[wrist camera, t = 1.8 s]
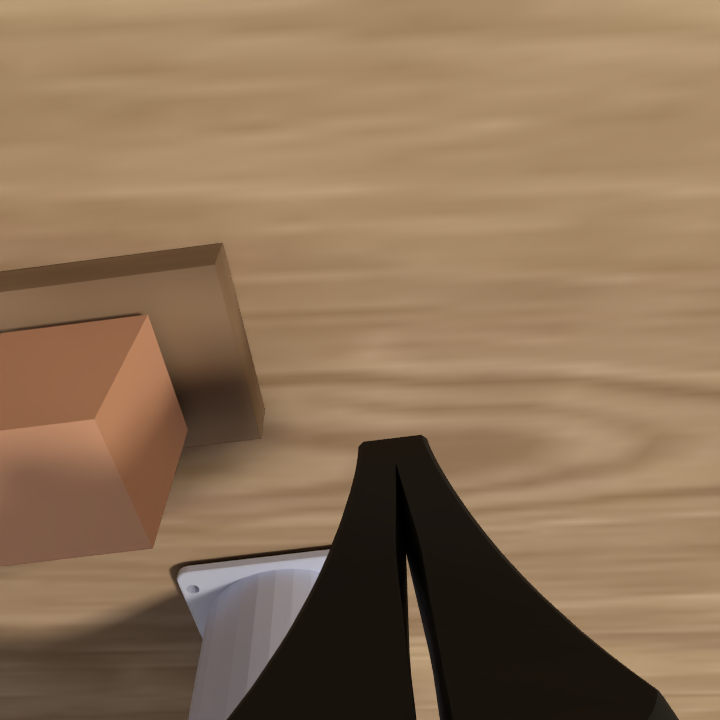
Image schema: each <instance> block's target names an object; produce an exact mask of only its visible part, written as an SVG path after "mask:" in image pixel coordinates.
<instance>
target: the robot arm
mask: <svg viewBox="0 0 720 720" xmlns="http://www.w3.org/2000/svg"><path fill="white" fill-rule="evenodd" d="M406 554H407V559H408V563H409V567H410V572H411V576H412V580H413V585H414V589H415V593H416V598H417V602H418V606H419V610H420V615H421V619H422V623H423V628H424V632H425V636H426V640H427V645H428V649H429V654H430V659H431V664H432V669H433V675H434V682H435V688H436V695H437V702H438V709H439V716H440V720H679V719H678V718H677V716H676V715H675V713H674V712H673V710H672V709H671V707H670V706H669V704H668V703H667V701H666V700H665V699H664V697H663V696H662V694H661V693H660V692H659V691H658V690H657V689H656V688H654V687H653V686H651V685H650V684H649V683H647V682H646V681H645V680H643V679H642V678H640V677H639V676H638V675H636V674H635V673H634V672H632V671H631V670H630V669H628V668H627V667H626V666H624V665H623V664H622V663H620V662H619V661H618V660H617V659H615V658H614V657H613V656H611V655H610V654H609V653H607V652H606V651H605V650H604V649H603V648H601V647H600V646H599V645H598V644H597V643H595V642H594V641H593V640H592V639H590V638H589V637H588V636H587V635H586V634H584V633H583V632H582V631H581V630H580V629H578V628H577V627H576V626H575V625H574V624H573V623H572V622H571V621H570V620H569V619H567V618H566V617H565V616H564V615H563V614H562V613H561V612H560V611H559V610H558V609H556V608H555V607H554V606H553V605H552V604H551V603H550V602H549V601H548V600H547V599H545V598H544V597H543V596H542V595H541V594H540V593H539V592H538V591H537V590H536V589H535V588H534V587H533V586H532V585H531V584H530V583H529V582H528V581H527V580H526V579H525V578H524V577H523V576H522V575H521V573H520V572H519V571H518V570H517V569H516V568H515V567H514V566H513V565H512V564H511V563H510V562H509V560H508V559H507V558H506V557H505V556H504V555H503V554H502V553H501V551H500V550H499V549H498V548H497V547H496V545H495V544H494V543H493V542H492V541H491V539H490V538H489V537H488V536H487V534H486V533H485V532H484V531H483V529H482V528H481V527H480V526H479V524H478V523H477V522H476V520H475V519H474V518H473V516H472V515H471V514H470V512H469V511H468V509H467V508H466V506H465V505H464V504H463V502H462V501H461V499H460V498H459V496H458V495H457V493H456V492H455V491H454V489H453V487H452V486H451V484H450V483H449V481H448V480H447V478H446V476H445V474H444V473H443V471H442V469H441V468H440V466H439V464H438V462H437V460H436V458H435V457H434V455H433V452H432V450H431V448H430V446H429V443H428V441H427V439H426V438H425V437H424V436H422V435H416V436H408V437H400V438H391V439H383V440H375V441H366V442H363V443H362V444H361V445H360V446H359V448H358V459H357V465H356V471H355V475H354V479H353V483H352V487H351V491H350V494H349V497H348V501H347V504H346V507H345V510H344V513H343V516H342V519H341V522H340V525H339V528H338V530H337V533H336V535H335V538H334V540H333V543H332V545H331V548H330V549H327V550H319V551H310V552H302V553H293V554H284V555H276V556H267V557H259V558H250V559H242V560H233V561H225V562H216V563H208V564H199V565H191V566H186V567H183V568H181V569H180V570H179V572H178V577H177V582H178V584H179V587H180V589H181V591H182V594H183V596H184V598H185V600H186V603H187V605H188V607H189V610H190V612H191V614H192V616H193V619H194V621H195V623H196V626H197V628H198V630H199V632H200V635H201V637H202V639H203V640H202V645H201V651H200V656H199V662H198V667H197V673H196V678H195V684H194V689H193V695H192V700H191V706H190V711H189V717H188V720H416V712H415V703H414V695H413V687H412V678H411V667H410V653H409V624H408V595H407V567H406Z"/></svg>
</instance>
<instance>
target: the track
mask: <svg viewBox="0 0 720 720" xmlns="http://www.w3.org/2000/svg"><path fill="white" fill-rule="evenodd" d="M141 315H148V317H149V320H150V322H151V325H152V328H153V331H154V334H155V337H156V340H157V342H158V345H159V348H160V351H161V354H162V357H163V360H164V363H165V365H166V368H167V371H168V374H169V377H170V380H171V383H172V386H173V388H174V391H175V394H176V397H177V400H178V403H179V406H180V408H181V411H182V414H183V417H184V420H185V423H186V426H187V429H188V431H187V435H186V438H185V441H184V445H183V448H187V447H195V446H203V445H211V444H220V443H228V442H236V441H244V440H252V439H261V435H262V428H263V420H264V413H265V408H264V404H263V400H262V396H261V392H260V388H259V384H258V380H257V376H256V372H255V368H254V364H253V361H252V357H251V353H250V349H249V345H248V341H247V337H246V333H245V329H244V325H243V321H242V317H241V313H240V309H239V305H238V301H237V298H236V294H235V290H234V286H233V282H232V278H231V274H230V270H229V266H228V262H227V258H226V254H225V250H224V246H223V243H220V244H212V245H204V246H196V247H189V248H181V249H173V250H166V251H158V252H150V253H142V254H135V255H127V256H119V257H111V258H104V259H96V260H88V261H80V262H73V263H65V264H57V265H50V266H42V267H34V268H26V269H19V270H11V271H3V272H0V334H1V333H7V332H15V331H23V330H30V329H38V328H46V327H54V326H62V325H70V324H78V323H85V322H93V321H101V320H109V319H117V318H125V317H133V316H141Z"/></svg>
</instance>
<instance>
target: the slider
mask: <svg viewBox="0 0 720 720" xmlns="http://www.w3.org/2000/svg"><path fill="white" fill-rule="evenodd" d="M187 431H188V429H187V426H186V423H185V420H184V417H183V414H182V411H181V408H180V406H179V403H178V400H177V397H176V394H175V391H174V388H173V386H172V383H171V380H170V377H169V374H168V371H167V368H166V365H165V363H164V360H163V357H162V354H161V351H160V348H159V345H158V342H157V340H156V337H155V334H154V331H153V328H152V325H151V322H150V320H149V317H148V315H141V316H133V317H125V318H117V319H109V320H101V321H93V322H85V323H78V324H70V325H62V326H54V327H46V328H38V329H30V330H23V331H15V332H7V333H1V334H0V566H8V565H17V564H25V563H34V562H42V561H51V560H59V559H68V558H76V557H85V556H93V555H102V554H110V553H119V552H127V551H136V550H144V549H152V548H153V546H154V542H155V539H156V536H157V532H158V529H159V526H160V522H161V519H162V515H163V512H164V509H165V505H166V502H167V499H168V495H169V492H170V489H171V485H172V482H173V478H174V475H175V472H176V468H177V465H178V462H179V458H180V455H181V451H182V448H183V445H184V441H185V438H186V435H187Z"/></svg>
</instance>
